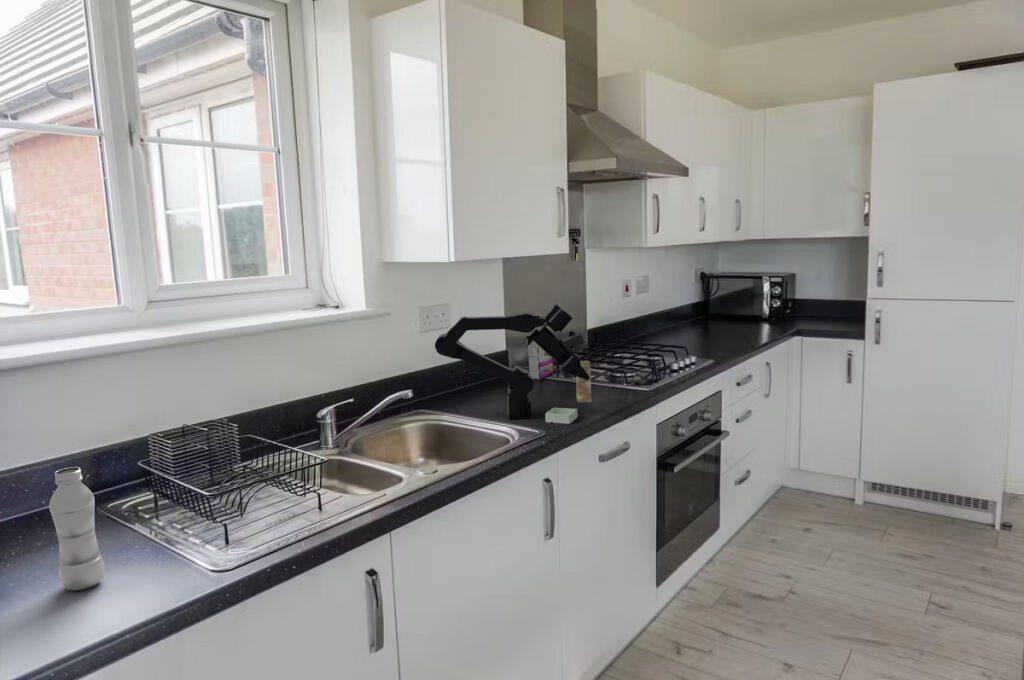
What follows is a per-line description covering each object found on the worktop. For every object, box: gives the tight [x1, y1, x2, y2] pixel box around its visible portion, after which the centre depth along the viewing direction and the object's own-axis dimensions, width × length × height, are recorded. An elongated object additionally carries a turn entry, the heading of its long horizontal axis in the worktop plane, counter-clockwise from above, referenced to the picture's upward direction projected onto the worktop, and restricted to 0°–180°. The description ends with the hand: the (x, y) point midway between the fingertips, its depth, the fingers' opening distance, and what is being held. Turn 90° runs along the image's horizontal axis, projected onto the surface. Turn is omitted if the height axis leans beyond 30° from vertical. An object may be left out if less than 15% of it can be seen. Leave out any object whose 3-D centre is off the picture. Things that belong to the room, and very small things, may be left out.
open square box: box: [544, 407, 579, 425], centre depth 207 cm, size 7×7×3 cm
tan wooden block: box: [575, 359, 592, 403], centre depth 212 cm, size 4×4×12 cm
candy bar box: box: [527, 341, 555, 380], centre depth 270 cm, size 11×5×16 cm, turn 147°
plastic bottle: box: [48, 466, 105, 592], centre depth 115 cm, size 6×7×20 cm
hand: (587, 377), depth 212 cm, fingers closed on tan wooden block, 4 cm apart
